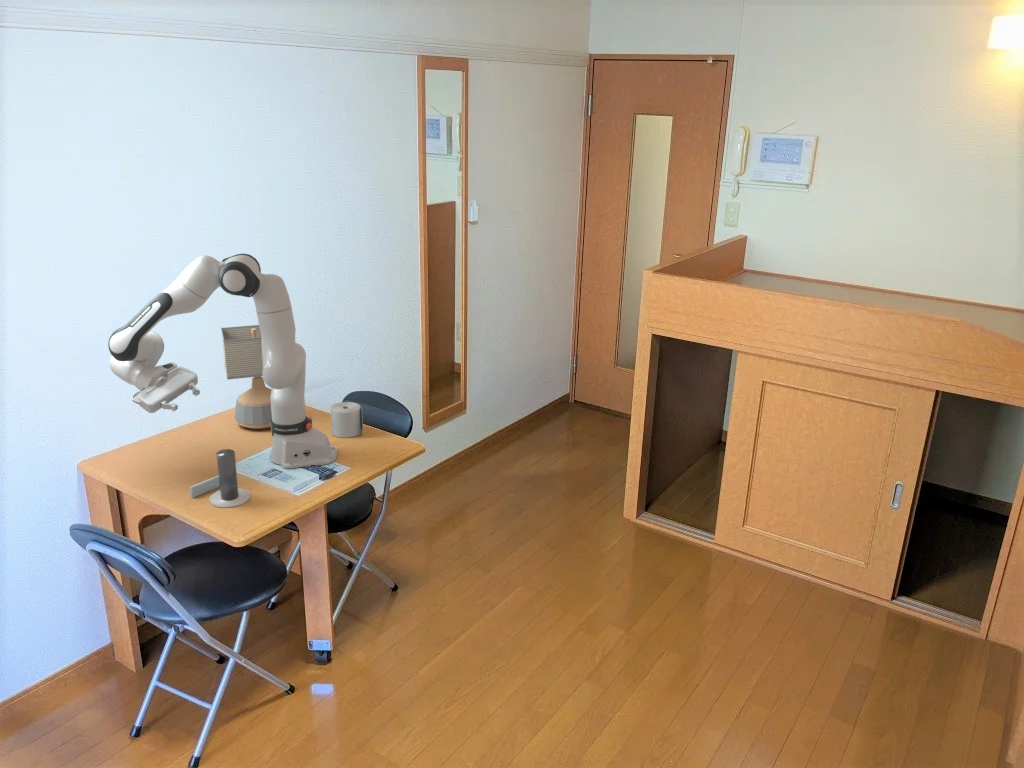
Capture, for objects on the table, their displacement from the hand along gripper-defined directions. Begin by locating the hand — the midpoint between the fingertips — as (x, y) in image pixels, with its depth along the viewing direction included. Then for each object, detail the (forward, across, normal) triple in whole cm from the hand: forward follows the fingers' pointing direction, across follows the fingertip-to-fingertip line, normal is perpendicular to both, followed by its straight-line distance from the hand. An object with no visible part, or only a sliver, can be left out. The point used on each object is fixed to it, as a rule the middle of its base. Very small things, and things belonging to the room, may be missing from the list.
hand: (187, 400), depth 263 cm
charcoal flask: (+27, -12, +16) cm, 34 cm away
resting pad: (+27, -12, +17) cm, 34 cm away
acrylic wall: (+18, -10, +20) cm, 29 cm away
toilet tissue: (+31, +46, +29) cm, 63 cm away
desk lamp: (-1, +37, +37) cm, 52 cm away
